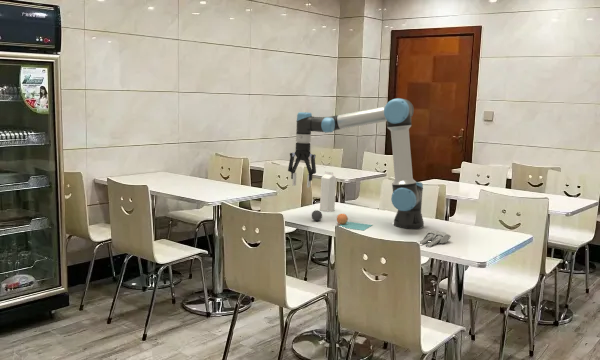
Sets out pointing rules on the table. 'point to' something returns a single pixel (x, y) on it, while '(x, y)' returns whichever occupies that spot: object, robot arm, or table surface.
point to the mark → (356, 225)
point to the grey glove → (435, 238)
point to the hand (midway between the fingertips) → (301, 186)
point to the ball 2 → (342, 218)
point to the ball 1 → (316, 215)
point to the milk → (327, 192)
